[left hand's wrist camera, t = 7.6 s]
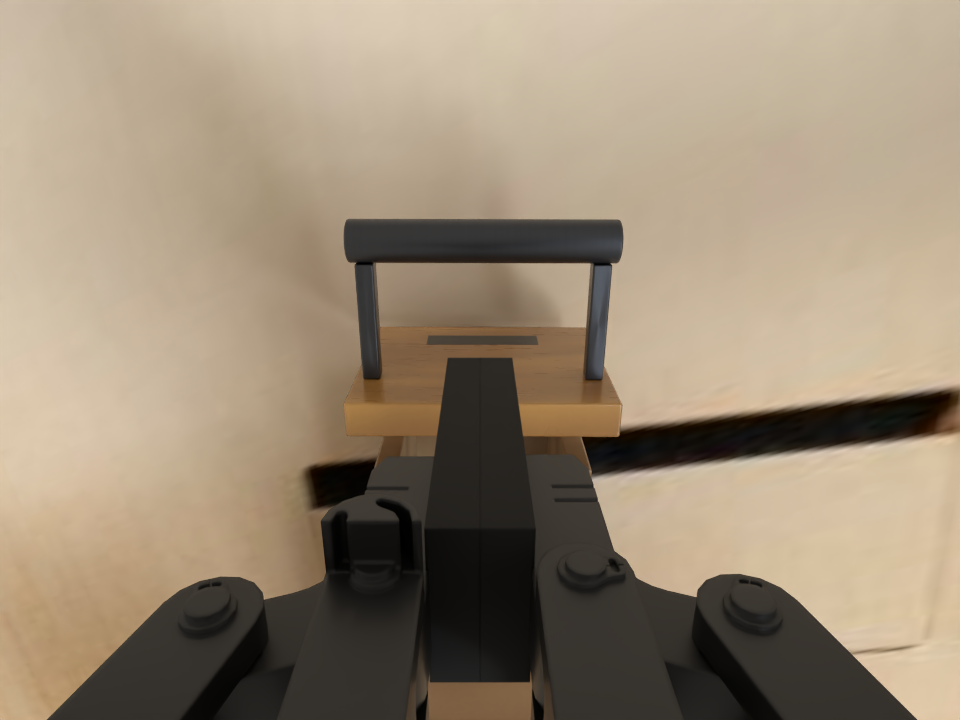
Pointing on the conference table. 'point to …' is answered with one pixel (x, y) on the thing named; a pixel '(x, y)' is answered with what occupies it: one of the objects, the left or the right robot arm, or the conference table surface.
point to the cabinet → (480, 700)
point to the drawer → (483, 335)
